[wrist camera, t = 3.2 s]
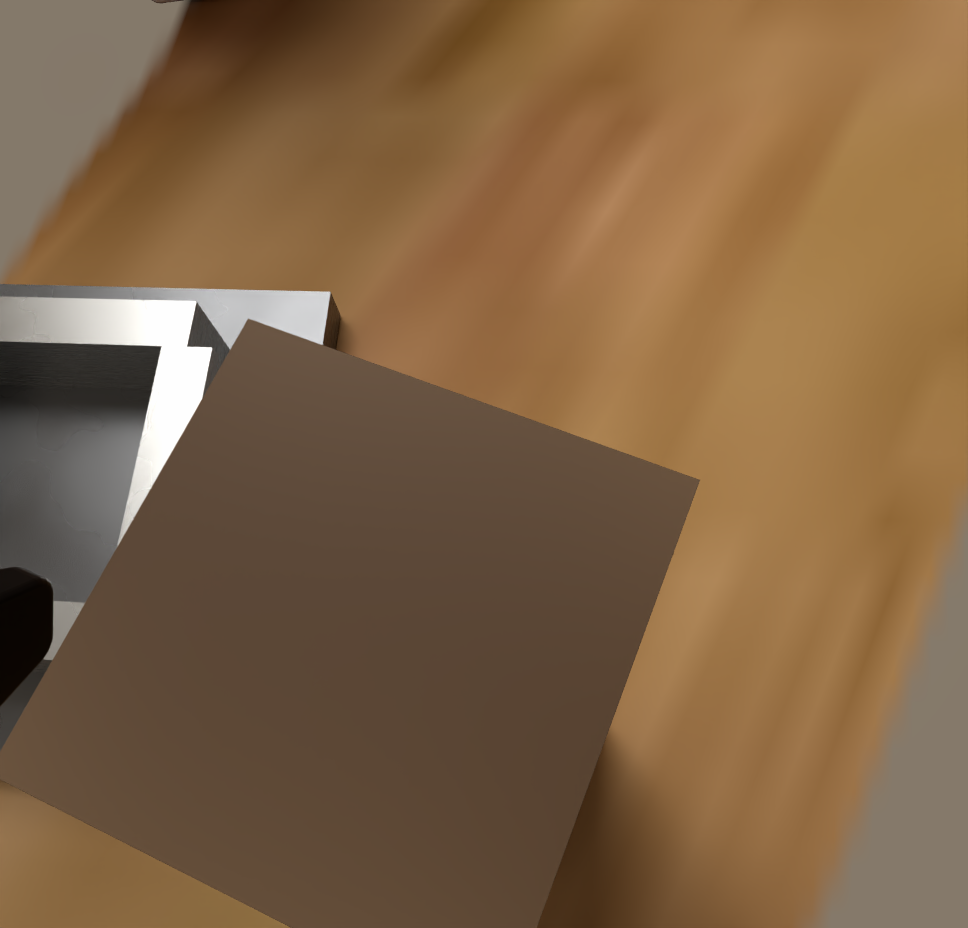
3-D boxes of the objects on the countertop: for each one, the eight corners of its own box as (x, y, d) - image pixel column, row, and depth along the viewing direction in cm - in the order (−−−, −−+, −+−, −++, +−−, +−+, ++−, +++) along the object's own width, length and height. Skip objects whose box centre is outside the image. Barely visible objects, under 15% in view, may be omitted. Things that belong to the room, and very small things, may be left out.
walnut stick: (539, 873, 16) (498, 1031, 4) (390, 802, 17) (-12, 772, 5) (598, 714, 17) (700, 479, 5) (454, 653, 18) (248, 319, 6)
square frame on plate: (274, 774, 17) (220, 766, 15) (-212, 738, 18) (-350, 725, 15) (340, 315, 21) (307, 238, 18) (-69, 304, 22) (-161, 229, 19)
